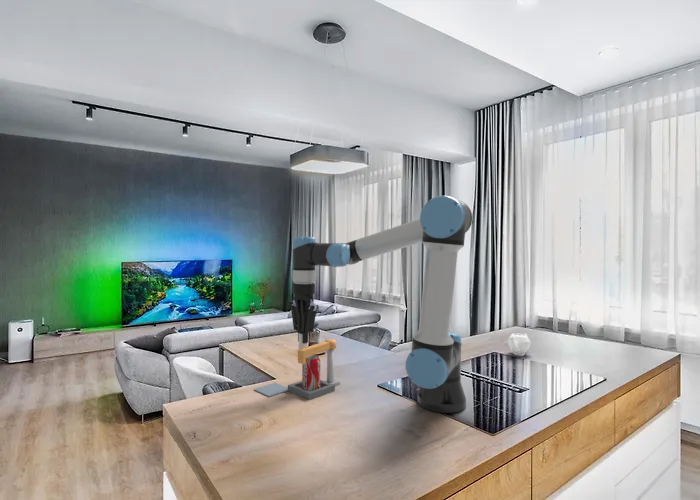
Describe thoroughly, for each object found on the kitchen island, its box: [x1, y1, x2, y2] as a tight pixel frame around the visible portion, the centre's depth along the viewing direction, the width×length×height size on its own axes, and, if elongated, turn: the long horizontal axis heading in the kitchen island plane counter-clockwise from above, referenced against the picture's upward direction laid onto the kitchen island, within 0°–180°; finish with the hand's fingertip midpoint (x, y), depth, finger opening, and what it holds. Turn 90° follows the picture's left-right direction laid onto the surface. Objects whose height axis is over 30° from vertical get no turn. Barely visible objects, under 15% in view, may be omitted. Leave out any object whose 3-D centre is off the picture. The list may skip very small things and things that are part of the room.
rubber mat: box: [253, 382, 289, 398], centre depth 141 cm, size 9×9×1 cm
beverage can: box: [301, 354, 321, 391], centre depth 141 cm, size 6×6×12 cm
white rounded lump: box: [507, 332, 531, 357], centre depth 189 cm, size 10×20×9 cm, turn 135°
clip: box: [297, 338, 337, 365], centre depth 142 cm, size 4×18×4 cm, turn 145°
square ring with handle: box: [287, 349, 341, 401], centre depth 143 cm, size 12×17×13 cm
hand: (302, 352), depth 138 cm, fingers closed
